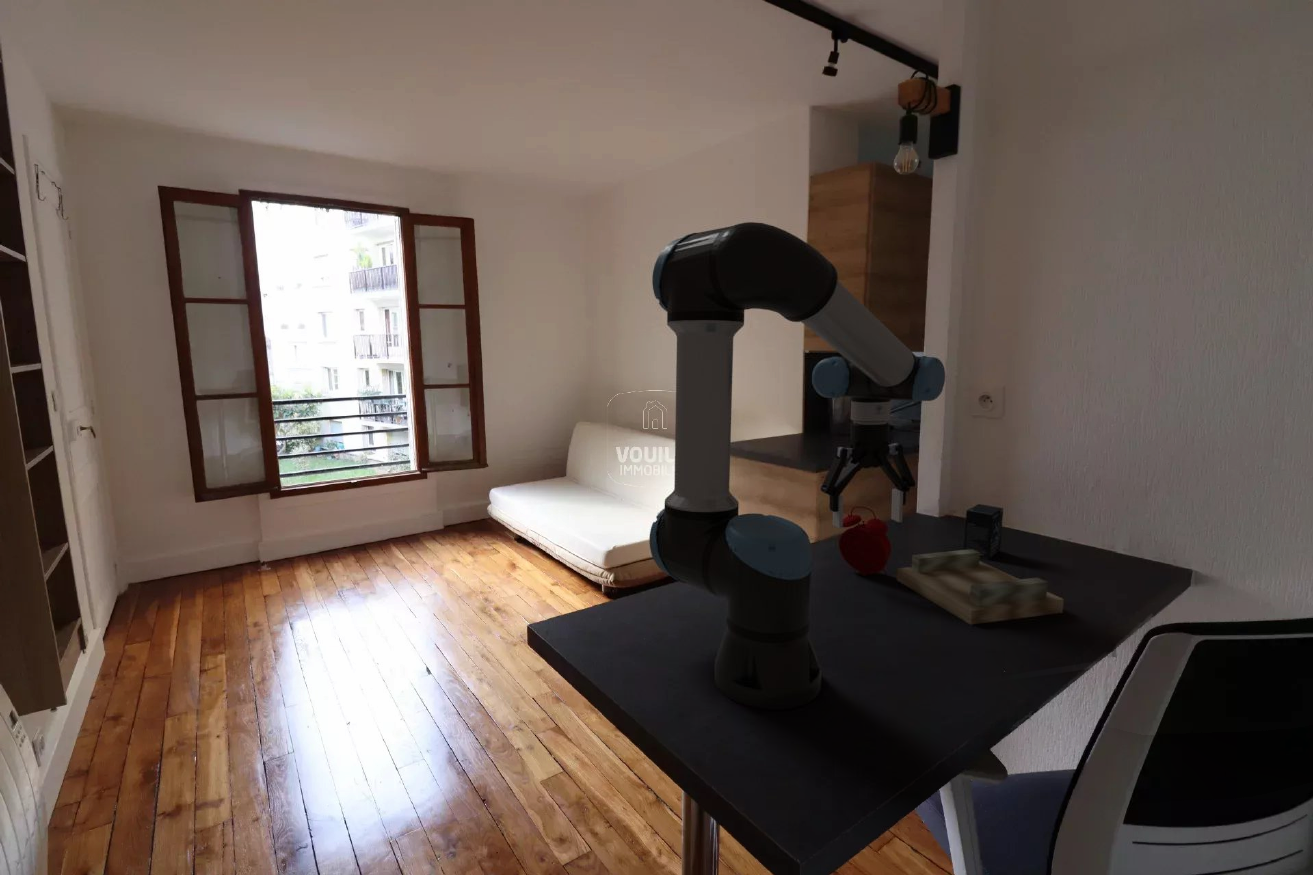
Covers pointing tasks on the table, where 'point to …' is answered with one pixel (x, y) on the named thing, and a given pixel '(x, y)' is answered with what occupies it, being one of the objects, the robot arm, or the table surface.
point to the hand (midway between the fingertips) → (867, 523)
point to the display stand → (977, 588)
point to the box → (983, 530)
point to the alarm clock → (865, 544)
